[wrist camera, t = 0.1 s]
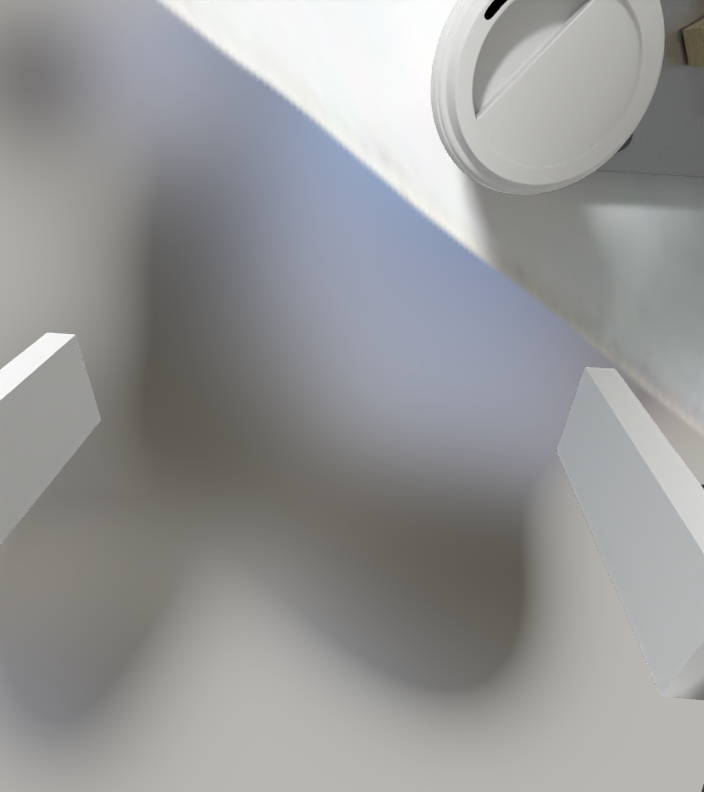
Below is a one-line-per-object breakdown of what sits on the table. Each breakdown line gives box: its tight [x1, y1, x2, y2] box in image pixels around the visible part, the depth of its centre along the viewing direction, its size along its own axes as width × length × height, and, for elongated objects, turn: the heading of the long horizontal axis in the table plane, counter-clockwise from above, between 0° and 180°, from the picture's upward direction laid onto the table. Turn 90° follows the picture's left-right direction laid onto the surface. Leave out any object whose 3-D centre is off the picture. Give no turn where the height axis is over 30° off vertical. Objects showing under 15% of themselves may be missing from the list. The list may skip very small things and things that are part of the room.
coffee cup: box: [431, 0, 665, 195], centre depth 26 cm, size 10×10×15 cm
